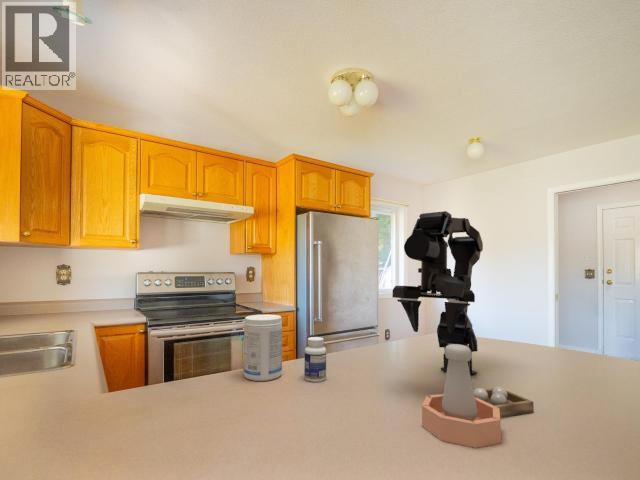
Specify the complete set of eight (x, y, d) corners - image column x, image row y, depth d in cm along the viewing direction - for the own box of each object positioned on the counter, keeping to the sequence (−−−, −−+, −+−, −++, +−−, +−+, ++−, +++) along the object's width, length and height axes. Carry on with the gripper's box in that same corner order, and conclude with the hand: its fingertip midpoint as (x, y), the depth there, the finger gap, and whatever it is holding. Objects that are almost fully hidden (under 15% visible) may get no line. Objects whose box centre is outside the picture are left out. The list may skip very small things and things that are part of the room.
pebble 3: (498, 404, 67) (498, 389, 67) (510, 410, 64) (510, 394, 64) (487, 406, 66) (487, 391, 66) (499, 411, 63) (498, 396, 63)
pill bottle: (303, 375, 85) (304, 336, 86) (324, 375, 86) (325, 336, 87) (304, 382, 80) (305, 340, 81) (327, 382, 81) (327, 340, 81)
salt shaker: (460, 413, 62) (458, 340, 63) (486, 426, 57) (483, 347, 58) (434, 417, 60) (433, 343, 61) (458, 432, 54) (456, 350, 56)
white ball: (499, 397, 70) (499, 384, 70) (511, 403, 67) (510, 388, 68) (489, 399, 69) (488, 385, 69) (500, 404, 67) (499, 390, 67)
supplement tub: (277, 368, 91) (278, 313, 92) (286, 379, 82) (287, 318, 83) (240, 372, 88) (242, 314, 89) (245, 384, 79) (247, 320, 80)
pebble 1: (480, 399, 69) (480, 385, 69) (491, 404, 67) (491, 389, 67) (469, 400, 68) (469, 386, 69) (480, 406, 66) (480, 391, 66)
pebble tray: (499, 397, 72) (499, 387, 72) (533, 412, 64) (533, 401, 65) (461, 402, 69) (461, 392, 69) (492, 419, 61) (492, 408, 61)
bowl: (463, 409, 65) (463, 391, 66) (518, 439, 54) (517, 416, 54) (410, 417, 62) (410, 398, 62) (456, 451, 50) (456, 427, 51)
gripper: (418, 258, 69) (417, 336, 67) (492, 265, 74) (493, 338, 72) (392, 262, 80) (390, 329, 78) (458, 267, 85) (458, 331, 83)
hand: (433, 332), depth 77 cm, fingers open, 9 cm apart
